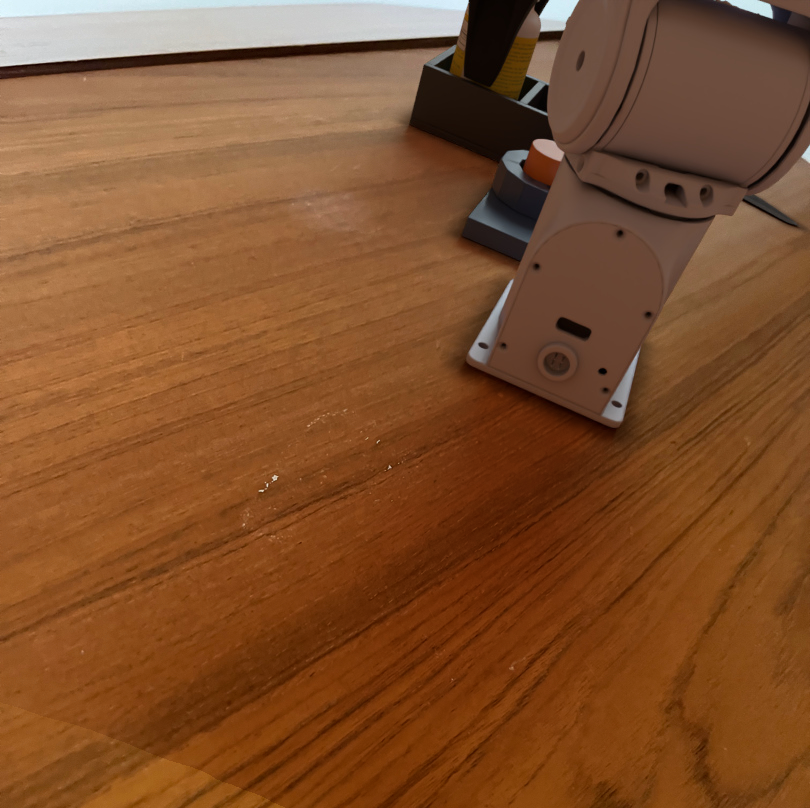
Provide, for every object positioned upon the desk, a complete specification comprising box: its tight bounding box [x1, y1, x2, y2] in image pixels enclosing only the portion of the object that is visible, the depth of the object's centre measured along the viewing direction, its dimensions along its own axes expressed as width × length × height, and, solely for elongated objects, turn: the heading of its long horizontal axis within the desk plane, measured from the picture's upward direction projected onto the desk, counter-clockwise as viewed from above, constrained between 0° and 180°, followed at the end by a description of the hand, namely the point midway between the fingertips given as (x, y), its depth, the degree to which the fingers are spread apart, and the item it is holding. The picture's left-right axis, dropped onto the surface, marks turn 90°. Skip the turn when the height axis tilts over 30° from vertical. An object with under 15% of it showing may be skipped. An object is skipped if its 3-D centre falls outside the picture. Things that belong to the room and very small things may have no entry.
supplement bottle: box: [449, 0, 542, 100], centre depth 53 cm, size 5×5×10 cm
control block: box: [461, 150, 551, 262], centre depth 47 cm, size 10×8×3 cm
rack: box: [408, 44, 554, 163], centre depth 56 cm, size 8×15×4 cm, turn 70°
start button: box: [523, 139, 564, 186], centre depth 47 cm, size 3×3×2 cm
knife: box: [742, 194, 801, 227], centre depth 64 cm, size 16×1×3 cm
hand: (488, 72), depth 54 cm, fingers closed on supplement bottle, 5 cm apart
